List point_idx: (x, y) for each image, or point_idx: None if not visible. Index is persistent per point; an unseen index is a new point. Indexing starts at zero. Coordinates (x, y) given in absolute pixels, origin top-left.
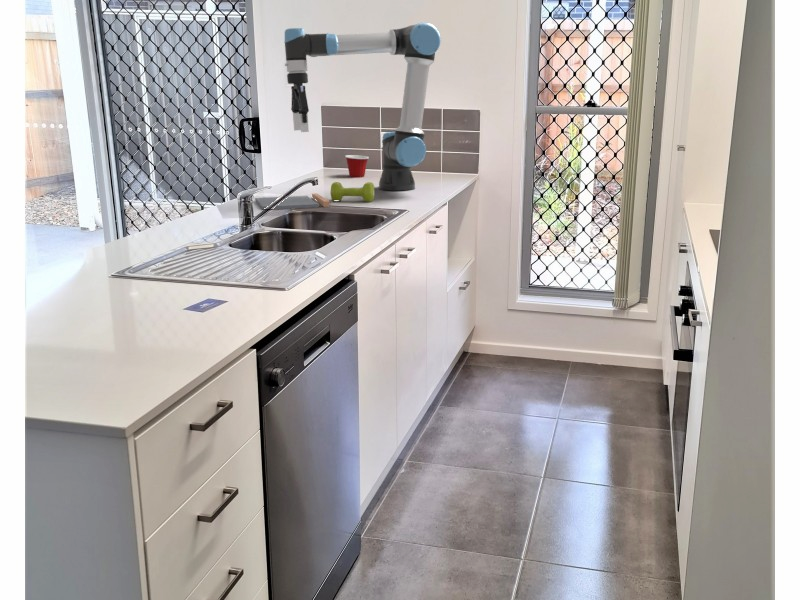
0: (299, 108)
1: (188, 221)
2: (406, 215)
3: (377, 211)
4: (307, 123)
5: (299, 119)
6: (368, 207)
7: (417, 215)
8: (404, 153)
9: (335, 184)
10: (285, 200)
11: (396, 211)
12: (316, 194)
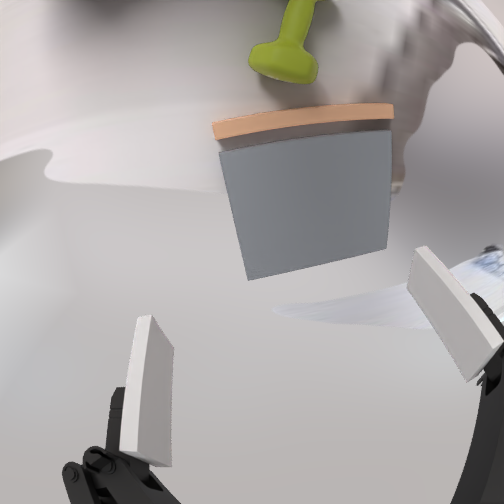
0: (147, 494)
1: (424, 316)
2: (481, 16)
3: (450, 33)
4: (459, 287)
5: (146, 396)
6: (405, 24)
7: (481, 3)
8: None
9: (312, 67)
10: (310, 209)
11: (451, 5)
12: (242, 125)
